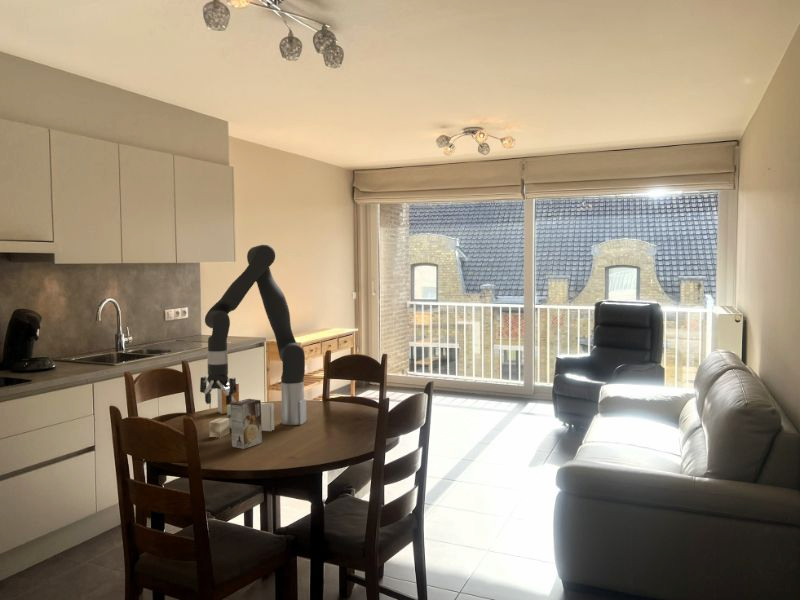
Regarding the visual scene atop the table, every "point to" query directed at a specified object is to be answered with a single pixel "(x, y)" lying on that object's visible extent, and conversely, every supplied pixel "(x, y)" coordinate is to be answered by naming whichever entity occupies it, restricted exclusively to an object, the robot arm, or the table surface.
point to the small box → (222, 399)
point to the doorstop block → (219, 427)
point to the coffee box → (246, 423)
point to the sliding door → (229, 414)
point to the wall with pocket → (267, 416)
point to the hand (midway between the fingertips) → (218, 404)
